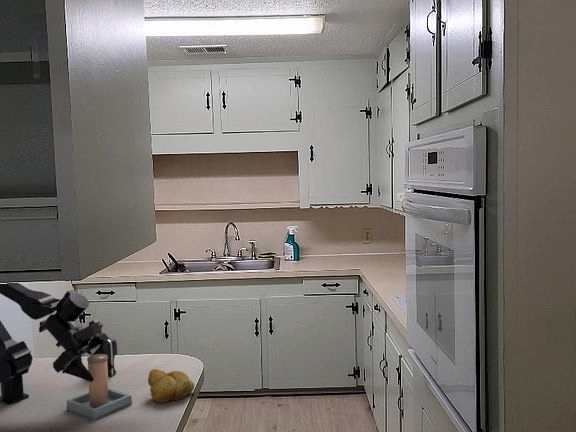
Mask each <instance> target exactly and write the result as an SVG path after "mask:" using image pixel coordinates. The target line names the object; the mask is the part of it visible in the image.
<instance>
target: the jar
mask: <svg viewBox="0 0 576 432" xmlns="http://www.w3.org/2000/svg"><path fill="white" fill-rule="evenodd" d="M86 359H87V370H88V371H89V372H90V374H91V375H92V376H93V378H94V380H93V381H92V382H89V381H88V392H89V406H90V407H92V408H97V407H100V406H102V405H105V404H107V403H109V394H108V388H109V376H108V366H107V359H108V356H107V355H105V354H96V355H89V356H87V358H86Z"/></svg>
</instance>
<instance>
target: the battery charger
mask: <svg viewBox="0 0 576 432" xmlns="http://www.w3.org/2000/svg"><path fill="white" fill-rule="evenodd" d="M107 341H108V343H107V347H106V350H107V354H108V356H109V359H110V361H111V363H112V366H113V368H112V369H111V370H109V369H108V377H111V376H114V375H116V374H117V370H116V369H115V358H116V356H117V355H118V344H117V341H116V339H115V338H113V337H109V339H108V340H107Z"/></svg>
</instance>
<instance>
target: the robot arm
mask: <svg viewBox="0 0 576 432" xmlns="http://www.w3.org/2000/svg"><path fill="white" fill-rule="evenodd" d="M0 294H1V295H2V296H4V297H6V298H7V299H9V300H10V301H12V302H14V303H16V304H18V306H20V309H21V311H22V312H23V313H24V314H25V315H27V316H28V317H29V318H30V319H32V320H36V321H37V320H39V319H42V318H45V317H47V318H46V319H44V320H42V321H39V326H38V332H39V333H44V331H48V333H49V334H50V335H51V336H52V337H53V338H54V339H55V341H57V342H56V344H55V346H56V347H57V348H60V347H62V348H63V350H64V351H62V352H61V353H60V354H59V356H58V357H57V358H56V359H55V360H54V361H53V362H52V368H53V370H54V371H55V372H56V373H57V374H58V373H59V374H60V373H61V374H67V375H71V376H74V377H77V378H78V379H79V378H80V379H82V380H83V381H87V382H88V383H89V382H92V381H93V380H94V378H93V376H92V375H91V374H90V372H89V371H88V367H86V366H85V364H84V363H83V360H82V359H83V358H82V356H83V355H85V354H88V355H89V356H91V355H96V354H105V355H107V356H108V354H107V350H106V347H107V343H108V341H107V340H108V339H109V338H110V337H109V336H108V335H107V334H106V333H103V331H102V330H103V325H104V324H103V323H101V321H99V320H98V319H97V318H95V319H93V320H91V321H88V326H86V327H84V328H82V327H81V326H80V325H79V326H76V327H75V325H74V324H73V323H74V322H76V321H77V320H78V319H79V317H81V315H83V313H84V312H85V311H86V310H87V309H88V308H89V305H90V303H89V299H87V297H86V296H84V295H83V294H81V293H78V292H75V291H74V290H73V289H70V290H67V291H66V292H65V294H64V295H63V297H62V298H61V299H60V298H55V296H53V295H51V294H49V293H46V292H43V291H39V290H37V291H36V290H34V289H29V288H28V287H26V286H24V285H23V284H21V283H19V282H17V283H7V284H0ZM72 322H73V323H72ZM31 353H32V350H30V349H29V347H28V346H27V343H26V342H25V341H23V340H21V341H19V342H18V341H16V340H14V339H13V338H12V336H11V335H10V333H9V332H8V329H7V328H6V327H5V325H4V324H3V322H2V321H1V320H0V402H1V403H4V404H6V405H9V404H12V403H15V402H18V401H21V400H24V399H26V398H29V396H30V395H29V394H28V393H25V391H24V380H23V375H25V374H28V373H29V370H30V368H31V366H32V363H33V360H34V359H33V356H32V354H31ZM107 366H108V369H109V370H111V369H112V368H113V366H112V363H111V361H110V359H109V356H108V359H107Z"/></svg>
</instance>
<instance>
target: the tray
mask: <svg viewBox="0 0 576 432" xmlns="http://www.w3.org/2000/svg"><path fill="white" fill-rule="evenodd" d="M108 394H109V403H107V404H105V405H102V406H100V407H97V408H92V407H90V406H89V391H88V392H85V393H83V394H80V395H78V396H75V397H72V398H69V399H67V400H66V410H67V411H69V412H73V413H75V414H78V415H80V416H82V417H86V418H88V419H91V420H93V421H95V420H98V419H101V418H104V417H105V416H108V415H109V414H110V415H111V414H112V413H115V412H118V411H120V410H121V409H124V408H126V407H129V406H131V405H132V404H133V402H132V401H133V400H132V395H131V394H128V393H125V392H122V391H120V390H116V389H112V388H109V387H108Z"/></svg>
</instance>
